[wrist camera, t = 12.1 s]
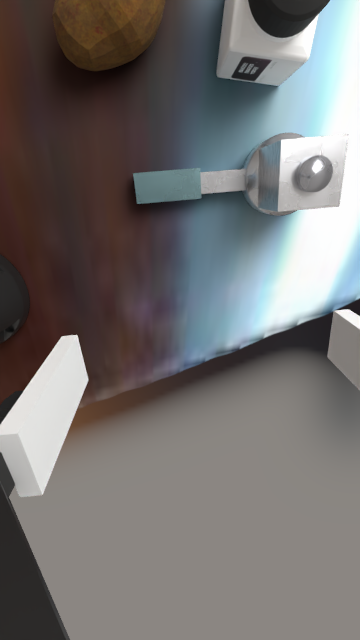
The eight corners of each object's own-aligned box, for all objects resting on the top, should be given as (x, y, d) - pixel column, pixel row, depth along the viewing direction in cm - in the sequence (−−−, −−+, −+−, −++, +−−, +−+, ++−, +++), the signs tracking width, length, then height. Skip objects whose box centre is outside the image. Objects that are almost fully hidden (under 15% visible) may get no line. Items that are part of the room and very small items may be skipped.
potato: (48, 32, 32) (14, -13, 25) (135, -66, 29) (125, -148, 22) (101, 105, 35) (84, 83, 28) (185, 21, 32) (190, -27, 25)
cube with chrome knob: (257, 207, 37) (281, 212, 30) (259, 149, 35) (285, 138, 27) (308, 203, 37) (344, 206, 30) (313, 144, 35) (354, 132, 27)
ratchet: (141, 225, 40) (136, 232, 33) (132, 149, 36) (124, 139, 30) (306, 210, 40) (335, 215, 34) (313, 134, 37) (347, 121, 30)
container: (280, 87, 35) (340, 34, 23) (215, 78, 34) (242, 18, 22) (297, -1, 32) (376, -116, 20) (226, -14, 31) (264, -140, 19)
